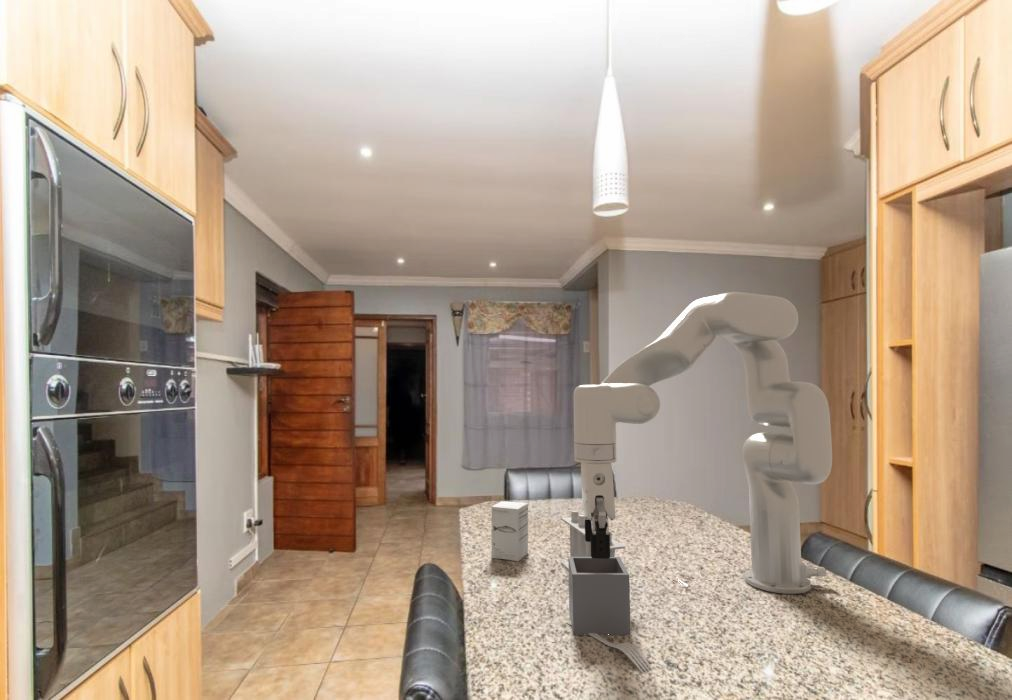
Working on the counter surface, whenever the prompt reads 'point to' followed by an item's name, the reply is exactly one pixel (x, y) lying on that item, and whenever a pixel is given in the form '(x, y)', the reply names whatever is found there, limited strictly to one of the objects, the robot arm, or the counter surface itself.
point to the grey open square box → (599, 596)
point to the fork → (624, 650)
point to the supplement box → (509, 530)
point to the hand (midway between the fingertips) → (596, 549)
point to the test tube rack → (583, 538)
